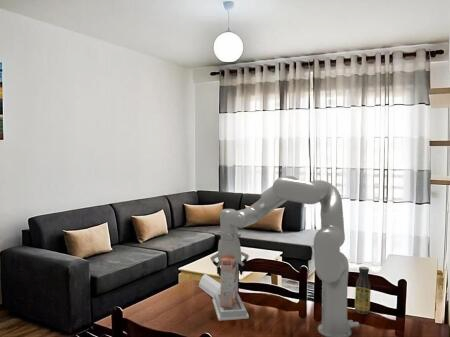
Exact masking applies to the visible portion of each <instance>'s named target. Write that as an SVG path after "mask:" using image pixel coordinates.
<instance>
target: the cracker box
mask: <svg viewBox="0 0 450 337" xmlns="http://www.w3.org/2000/svg"><path fill="white" fill-rule="evenodd" d="M220 268H221V276H220V284H221V294H220V306H222V307H233V305H234V303H235V301H236V299H237V297H238V295H239V293H238V290H239V262H236V258H235V257H224V258H222V259H221V265H220Z"/></svg>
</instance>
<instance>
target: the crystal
mask: <svg viewBox="0 0 450 337" xmlns="http://www.w3.org/2000/svg"><path fill="white" fill-rule="evenodd" d="M198 287H199V288H200V290H202V291H204V292H205V293H206V294H207V295H209V296H210V297H212V299H215V294H219V293H221V282H219V281H217V280H215V279H214V278H213V277H211V276H210V275H208V274H206V273H205V274H203V275H202V277H201V279H200V281H199V283H198Z"/></svg>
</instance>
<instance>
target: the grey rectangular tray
mask: <svg viewBox="0 0 450 337" xmlns="http://www.w3.org/2000/svg"><path fill="white" fill-rule="evenodd" d="M220 294H221V293H219V294H215V299H214V298H212V304H213V307H214V311H215V313H216V316H217V320H218V321H220V322H221V321H232V320H244V319H245V320H247V319H250V317H249V316H250V315H249V313H248V311H247V309H246V306H245V305H244V303H243V301H242V298H241V297H240V295H239V294H238V297H237V299H236V301H235V303H234V305H233V307H222V306H220Z"/></svg>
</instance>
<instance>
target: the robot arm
mask: <svg viewBox="0 0 450 337" xmlns="http://www.w3.org/2000/svg"><path fill="white" fill-rule="evenodd" d="M287 201H289V202H295V203H300V204H304V205H316V204H318V203H319V205H320V229H319V230H317V231H316V233H315V235H314V238H313V253H314V254H313V256H314V258H313V259H314V268H315V270H314V271H315V274H316V276H317V277H318V278H319V280H321V284H322V285H321V288H322V289H321V324H319V325H318V326H317V331H318V333H319V334H320V335H322V336H324V337H350V336H351V335H352V328H359V327H360V323H359V321H353V320H352V319H348V282H349V281H348V280H349V268H350V266H349V261H348V258H347V256H346V255H345V254H344V253H342V252H341V247H342V246H343V245H344V243H345V240H346V237H345V236H346V235H345V233H346V232H345V223H344V212H343V200H342V196H341V194H340V191H339V190H338V189H337V188H336V186H334V185H333V184H332V183H330V182H328V181H327V180H326V181H325V180H321V179H319V180H318V179H317V180H312V181H305V180H299V179H298V178H297V177H295V176H294V175H285V176H280V177H278V178H276V179H275V180H274V182H273V184H272V185H271V186H270V187H268V188H267V189H266V190H264V191H263V192H262V193H261V195H260V198H259V199H258V200H257V201H256V202H254V203H253V204H252V205H250V206H249V207H246V208H243V209H239V210H236V209H234V208H224V209H221V210H220V212H219V218H220V219H219V221H220V224H219V226H220V228H219V229H220V239H219V240H218V244H217V245H218V246H217V253H215V254H214V255H212V256H210V260H211V263H212V264H213V265H214V266H216V271H217V272H216V274H217V275H218V276H219V278H221V259H222V258H224V257H235V258H236V262H238V274H240V275H241V276H242V275H243V273H244V266H245V264H246V263H247V261H248V259H249V258H250V255H249V254H248V253H245V252H243V251H242V248H241V242H240V239H239V238H240V237H242V235H241V233H239V232H238V228H239V229H243V228H247V227H249V226H251V225H255V223H257V222H258V221H260V220H262V219H264V218H265V217H266V216H268V215H269V214H270V213H271V212H272V213H273V211H274V210H276V209H278V208H279V207H280V206H281V205H283V204H284V203H286V202H287ZM242 256H243V257H244V259H243V260H242ZM216 259H218V261H216Z"/></svg>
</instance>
